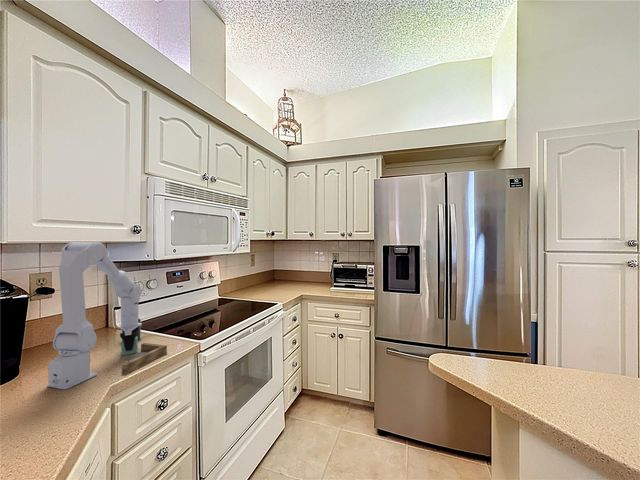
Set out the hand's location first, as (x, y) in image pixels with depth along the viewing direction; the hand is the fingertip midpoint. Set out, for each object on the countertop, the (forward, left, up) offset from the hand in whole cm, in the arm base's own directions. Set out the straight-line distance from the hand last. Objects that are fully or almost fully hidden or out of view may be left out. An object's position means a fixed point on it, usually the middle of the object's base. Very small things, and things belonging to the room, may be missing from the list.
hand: (129, 347), depth 111 cm
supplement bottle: (+10, +11, -2) cm, 15 cm away
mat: (-3, -8, -1) cm, 9 cm away
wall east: (+2, -10, -1) cm, 10 cm away
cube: (0, 0, -1) cm, 1 cm away
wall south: (-7, -15, -1) cm, 16 cm away
